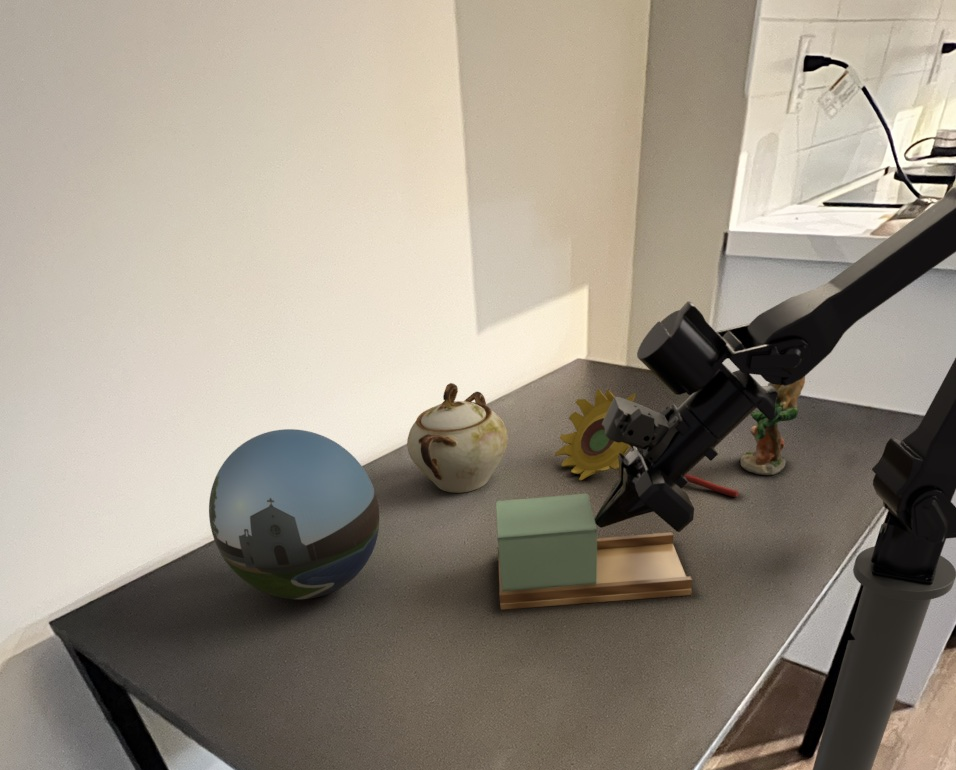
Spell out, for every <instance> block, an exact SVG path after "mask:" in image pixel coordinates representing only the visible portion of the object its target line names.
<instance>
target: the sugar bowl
mask: <svg viewBox="0 0 956 770" xmlns="http://www.w3.org/2000/svg"><path fill="white" fill-rule="evenodd" d="M458 389H459V388H458V386H457V385H456V384H455V383H453V382H450V383H448V384H447V385H446V386H445V389H444V391H443V396H442V398H443V402H442V403H440V404H438V405H437V404H436V405H435V406H432V407H430V408H428V409H426V410H423V411H422V412H421V413H420V414H419V415H418V416H417V417H416V420H415V421H414V423H413V424H412V426H411V427H410V429H409V432H408V436H407V440H406V447H407V452H408V455H409V457H410V459H411V461H412V462H413V464H414V465H415V466H416V467H417V469H419V470H420V472H421V473H422V474H423V475H424V476H426V477H427V478H428V479H429V480H430V481H431V482H432V483H433V484H434V485H435V486H436V487H437V488H438V489H440V490H441V491H444V492H447V493H453V494H454V493H457V494H459V493H468V492H469V493H470V492H472V491H475V490H478V489H480V488H482V487H484V486H485V485H486V484H487V483H488V482H489V480H490V478H491V477H492V475H493V474H494V472H495V471H496V469H497V467H498V466H499V464H500V462H501V461H502V458H503V456H504V455H505V452H506V449H507V446H508V440H509V439H508V438H509V436H508V430H507V427H506V425H505V422H504V421H503V419H502V418H501V417H500V416H499V415H498V414H497V413H496V412H495V411H493V410H492V409H491V408H490V407H489V406H488V405H487V401H486V398H485V396H484V394H483V392H481V391H474V392H473V393H471V394H470V395H469V396H468V397H466V398H465V399H464V400H456V398H457V395H458V392H459V390H458ZM473 401H474V402H473Z"/></svg>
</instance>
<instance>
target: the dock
mask: <svg viewBox="0 0 956 770" xmlns="http://www.w3.org/2000/svg"><path fill="white" fill-rule="evenodd" d="M497 560H498V582H499V592H498V593H499V594H498V596H499V603H500V604H499V606H500V611H502V610H503V611H504V610H515V609H517V610H518V609H528V608H541V607H542V608H543V607H554V606H555V607H556V606H567V605H579V604H592V603H593V604H594V603H604V602H607V603H608V602H618V601H620V602H621V601H630V600H631V601H632V600H643V599H655V598H669V597H670V598H671V597H682V596H684V597H685V596H691V595H692V586H693V585H692V584H693V579H692V576H691V575H686V572H685V570H684V568H683V565H682V562H681V560H680V558H679V555H678V553H677V551H676V548H675V546H674V533H673V532H671V531H669V532H656V533H646V534H645V533H644V534H634V535H631V534H630V535H620V536H608V537H597V584H586V585H574V586H561V587H549V588H536V589H524V590H511V591H502V584H501V572H500V561H499V549H498V548H497Z"/></svg>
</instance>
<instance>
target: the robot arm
mask: <svg viewBox="0 0 956 770" xmlns="http://www.w3.org/2000/svg"><path fill="white" fill-rule="evenodd" d="M954 254H956V184H955V185H953V186H952V187H950V189H948V190H947V192H945V194H944V196H943V197H942V198H940V199H938V201H936V202H935V203H934V204H932V205H931V206H930V207H928V208H927V209H926V210H924V211H922V213H920V214H919V215H917V216H916V217H914V218H913V219H912V220H911V221H909V222H908V223H906V224H905V225H904V226H903V227H901V228H900V229H898V230H897V231H896V232H895V233H893V234H891V235H890V236H889V237H888V238H886V239H884V240H883V241H882V242H880V243H879V244H878V245H876V246H875V247H873V248H872V249H871V250H870V251H868V252H867V253H866V254H865V255H863V256H861V257H860V258H859V259H857V260H856V261H855V262H854V263H852V264H851V265H850V266H848V267H847V268H846V269H844V270H843V271H842V272H840V273H839V274H837V275H836V276H835V277H833V278H832V279H830V280H829V281H828V282H826V283H824V284H822V285H820V286H818V287H816V288H814V289H812V290H809V291H806V292H803V293H800V294H797V295H794V296H791V297H789V298H787V299H785V300H783V301H782V302H780V303H778V304H776V305H774V306H772V307H771V308H769V309H767V310H765V311H763V312H761V313H760V314H758V315H757V316H756V317H754V319H752V321H750V322H749V323H745V324H742V325H737V326H732V327H728V328H725V329H721V330H717V331H716V330H715V329H714V328H713V327H712V326H711V325H710V324H709V322H707V321H706V318H705V317H704V315H703V314H702V312H701V311H700V310H699V309H698V308H697V307H696V306H695V305H694V304H693V302H692V301H691V300H689V301H687V302H685V303H684V304H683V306H682V307H681V308H679V309H678V310H675V311H673V312H672V313H669V314H668V315H667V316H665V318H663V319H662V320H661V321H660V320H658V321H657V322H656V323H655V324H654V325H652V327H651V328H650V330H649V331H648V332H647V333H646V335H645V336H644V338H643V340H642V341H641V342H640V345H639V346H638V349H637V352H636V357H637V359H638V360H639V361H640V362H641V363H643V364H644V366H645V367H647V369H648V370H650V371H651V372H652V374H654V375H655V376H656V377H657V378H658V379H659V380H660V381H661V382H662V383H663V384H664V385H665V386H666V387H667V388H668V389H669V390H670V391H671V392H672V393H673V394H675V395H676V396H678V395H680V396H681V395H682V394H687V395H688V396H689V397H688V398H686V399H685V400H684V402H682V403H681V405H680V406H678V407H677V406H676V405H675V404H674V403H672V404H671V405H670V404H669V405H667V406H666V407H665V408H664V409H662V411H661V412H658V411H655V410H653V409H651V408H649V407H648V406H645V405H642V404H639V403H638V402H637V403H636V402H634V401H633V402H632V401H629V400H626V399H627V398H623V397H620V396H614V399H613V401H612V403H611V405H610V407H609V410H608V412H607V414H606V416H605V418H604V420H603V422H602V426H603V427H604V428H605V435H606V437H608V438H609V439H610V440H612V441H615V442H617V443H619V442H623V443H626V444H629V445H630V446H631V447H630V448H632V449H630V451H629V452H627V453H626V454H625V455H624V456H623V455H622V454H621V453H619V455H618V459H619V467H618V476H617V479H616V480H615V483H614V484H613V486H612V488H611V489H610V491H609V493H608V495H607V496H606V499H605V500H604V501H603V503H602V505H601V507H600V508H599V511H598V512H597V514H596V515H595V516H594V519H595V523H596V526H597V527H599V528H606V527H608V526H611V525H614V524H618V523H620V522H624V521H626V520H629V519H632V518H635V517H638V516H642V515H646V514H650V513H655V515H657V516H658V517H660V519H662V520H663V521H664V522H665V523H666V524H668V526H670V527H671V528H672V529H673V530H674V531H676V532H677V533H680V532H681V531H683V530H684V529H685V528H686V527H687V526H689V524H691V523H692V522H693V521H694V515H695V506H694V505H693V503H692V501H691V498H690V496H689V495H688V493H687V492H686V491H684V490H683V488H684V487H685V486H686V485H687V484H688V483H689V482H688V481H687V479H686V477H685V475H686V474H688V473H690V471H692V470H693V468H695V466H696V465H698V464H699V463H700V462H701V461H702V460H703V459H704V458H705V457H706V458H707V459H708V460H709V461H710V462H712V461H713V460H714V459H715V458H716V457H717V456H719V453H718V451H717V450H716V448H717V446H718V445H719V444H720V443H721V442H722V441H723V440H724V439H725V438H726V437H727V436H729V434H731V433H732V432H733V431H734V430H735V429H736V428H737V427H738V426H739V425H740V424H742V422H743V421H744V420H745V419H746V418H747V417H749V415H751V413H752V412H754V411H755V410H756V409H758V411H761V412H762V414H763V415H764V416H765V417H766V418H767V419H769V420H773V419H774V418H775V404H776V399H777V396H778V392H777V391H776V390H775V389H774V387H773V386H771V385H769V386H768V385H761V384H760V383H759V382H758V381H757V380H756V379H755V378H754V377H753V376H752V375H755V376H761V377H762V378H763V380H764V381H765V382H768V383H771V384H775V385H784V386H787V385H791V384H793V383H795V382H797V381H799V380H801V379H802V378H803V377H805V378H806V376H807V375H808V374H810V372H812V370H814V369H815V368H816V367H817V366H818V365H819V364H821V363H822V361H824V360H825V359H826V358H827V357H828V356H829V355H830V354H831V353H832V352H833V350H834V349H835V348H836V346H837V345H838V344H839V342H840V340H841V339H842V338H843V336H844V334H845V333H846V332H847V331H848V330H850V329H851V327H853V326H854V325H855V324H856V323H857V322H859V321H860V320H862V318H864V317H865V316H867V315H868V314H870V313H871V312H873V311H874V310H875V309H877V308H878V307H880V306H881V305H883V304H884V303H885V302H887V301H888V300H890V299H891V298H892V297H894V296H896V295H897V294H898V293H900V292H901V291H903V290H904V289H905V288H907V287H908V286H910V285H911V284H912V283H914V282H915V281H917V280H918V279H920V278H921V277H923V276H924V275H926V273H928V272H929V271H931V270H933V269H934V268H935V267H937V266H938V265H939V264H941V263H942V262H944V261H945V260H947V259H948V258H950V257H951V256H953V255H954ZM727 359H728V360H730V362H731V363H732V364H733V365H734V366H735V367H736V368H737V370H734V371H732V370H731V369H729V368H728V366H726V365H725V364H724V362H725V361H726V360H727ZM883 449H884V450H883V453H882V454H881V457H880V458H879V459H878V462H876V464H875V465H873V467H872V468H871V471H872V472H873V473H874V477H873V480H872V486H873V489H874V491H875V494H876V495H877V496H878V497H879V498H880V500H882V505H883V507H884V508H885V509H886V510H887V511H888V512H890V514H889V516H888V520H887V522H886V523H885V522H884V523H882V524H881V526H880V528H879V530H878V534H877V537H876V542H875V544H874V546H875V548H874V552H873V555H872V559H871V562H872V563H875V564H874V567H873V570H872V574H873V575H875V576H881V577H886V578H892V579H897V580H903V581H909V582H914V583H920V584H926V585H932V584H933V582H934V577H935V573H936V568H937V564H938V561H939V558H940V555H941V556H942V552H943V549H944V546H945V543H946V540H947V539H956V505H955V504H954V503H953V502H952V500H953V498H954V495H955V493H956V357H955V358H954V360H953V362H952V364H951V366H950V367H949V370H948V371H947V373H946V375H945V377H944V378H943V379H942V382H941V384H940V386H939V387H938V390H937V392H936V393H935V395H934V397H933V399H932V401H931V403H930V405H929V406H928V408H927V411H926V412H925V414H924V416H923V417H922V420H921V422H920V423H919V425H918V426H917V428H916V429H915V430H913V431H912V432H911V433H910V434H908V435H907V436H905V437H904V438H903V439H902V440H899V439H897V438H894V437H890V438H889V439H888V440H887V442H886V444H885V446H884V448H883Z"/></svg>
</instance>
